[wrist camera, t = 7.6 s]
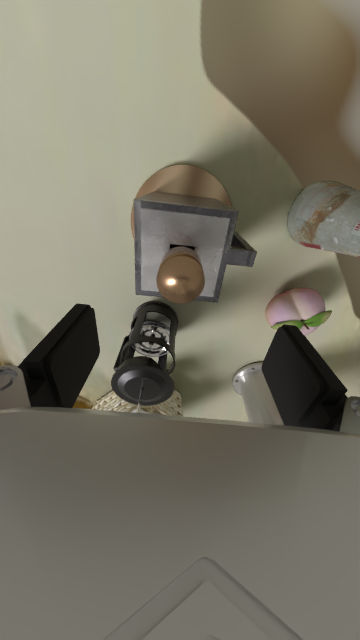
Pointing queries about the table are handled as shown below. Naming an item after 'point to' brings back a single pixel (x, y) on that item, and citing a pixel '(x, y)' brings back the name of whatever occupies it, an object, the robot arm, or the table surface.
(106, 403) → the storage basket
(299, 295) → the decorative fruit
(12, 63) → the table surface
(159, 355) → the french press
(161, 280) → the plunger
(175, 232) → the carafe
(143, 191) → the coaster
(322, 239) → the bottle
